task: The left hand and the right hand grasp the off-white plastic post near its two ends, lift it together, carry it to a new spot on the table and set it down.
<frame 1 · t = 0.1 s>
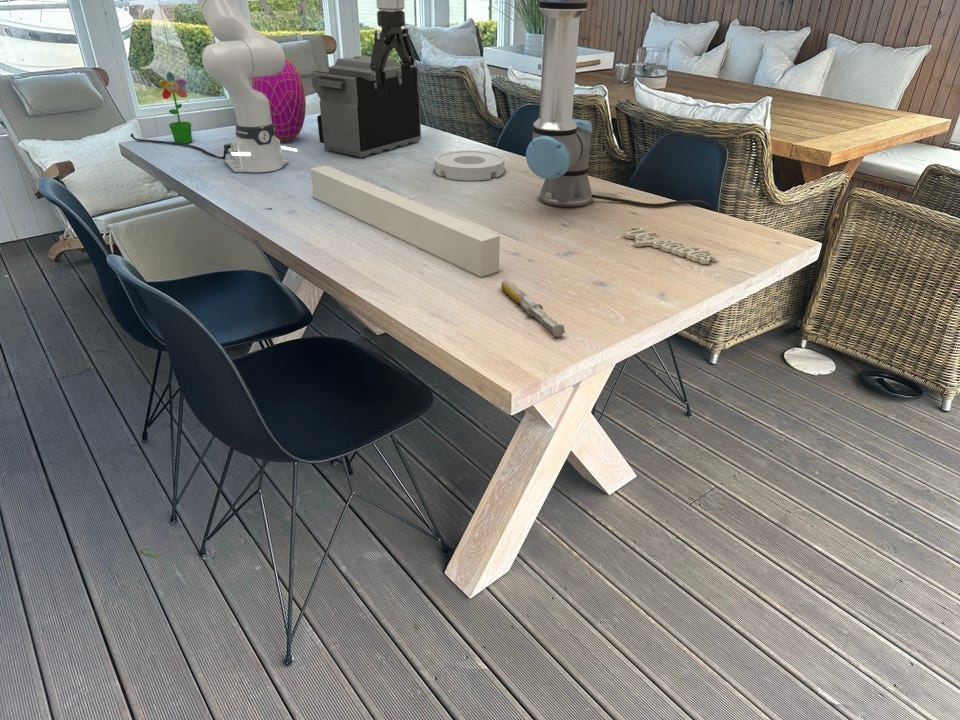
left hand: (285, 14, 187), 48 cm above the table, tool pointing down, fingers open, 8 cm apart
right hand: (394, 93, 197), 28 cm above the table, tool pointing down, fingers open, 13 cm apart
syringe: (530, 311, 139), on the table
potted flower: (184, 142, 260), on the table
decorative egg: (284, 140, 265), on the table
post: (394, 229, 180), on the table
ashtray: (469, 171, 229), on the table
cooler box: (371, 146, 258), on the table
decorative sign: (664, 248, 171), on the table
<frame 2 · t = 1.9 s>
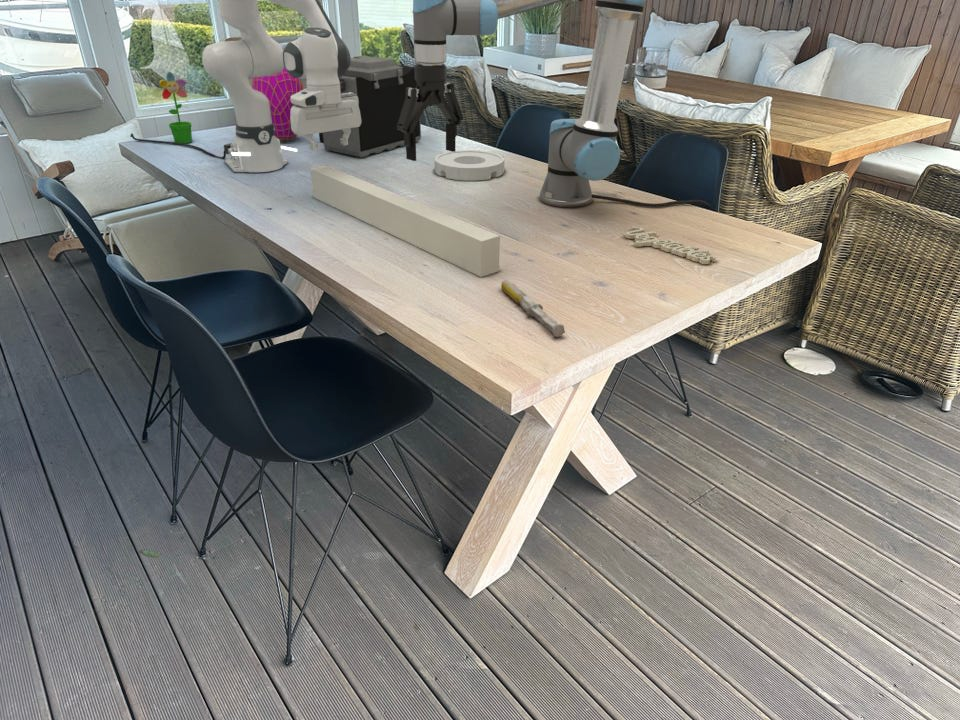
left hand: (329, 147, 192), 16 cm above the table, tool pointing down, fingers open, 8 cm apart
right hand: (431, 155, 172), 19 cm above the table, tool pointing down, fingers open, 13 cm apart
nothing on the table moved.
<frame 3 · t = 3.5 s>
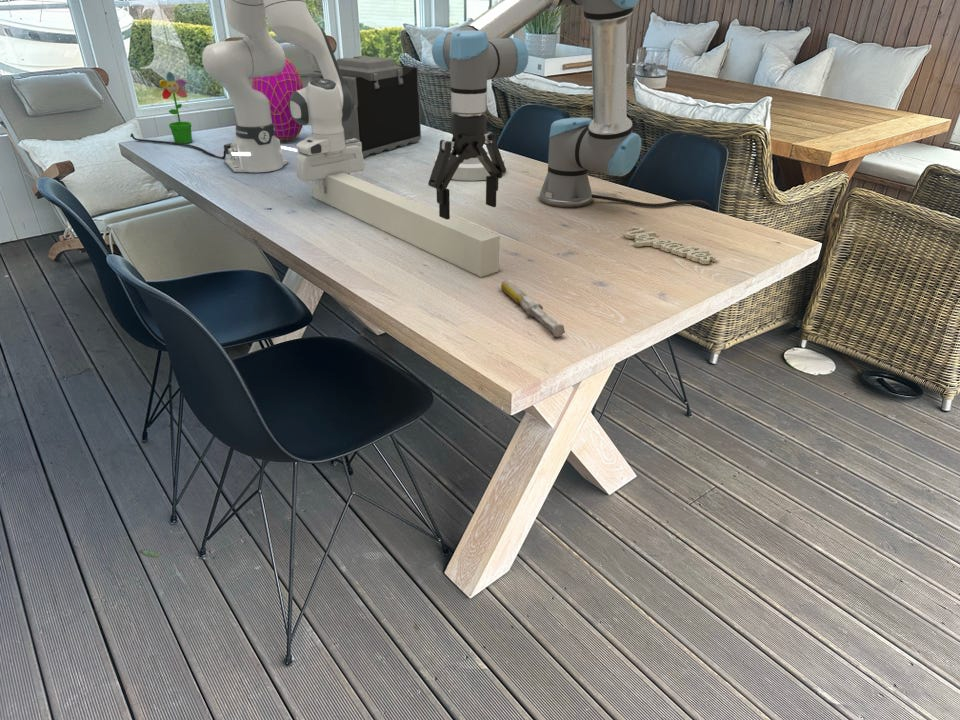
left hand: (333, 191, 198), 3 cm above the table, tool pointing down, fingers closed on post, 5 cm apart
right hand: (468, 211, 154), 13 cm above the table, tool pointing down, fingers open, 13 cm apart
post: (394, 229, 180), on the table, touching left hand
everything else where it was.
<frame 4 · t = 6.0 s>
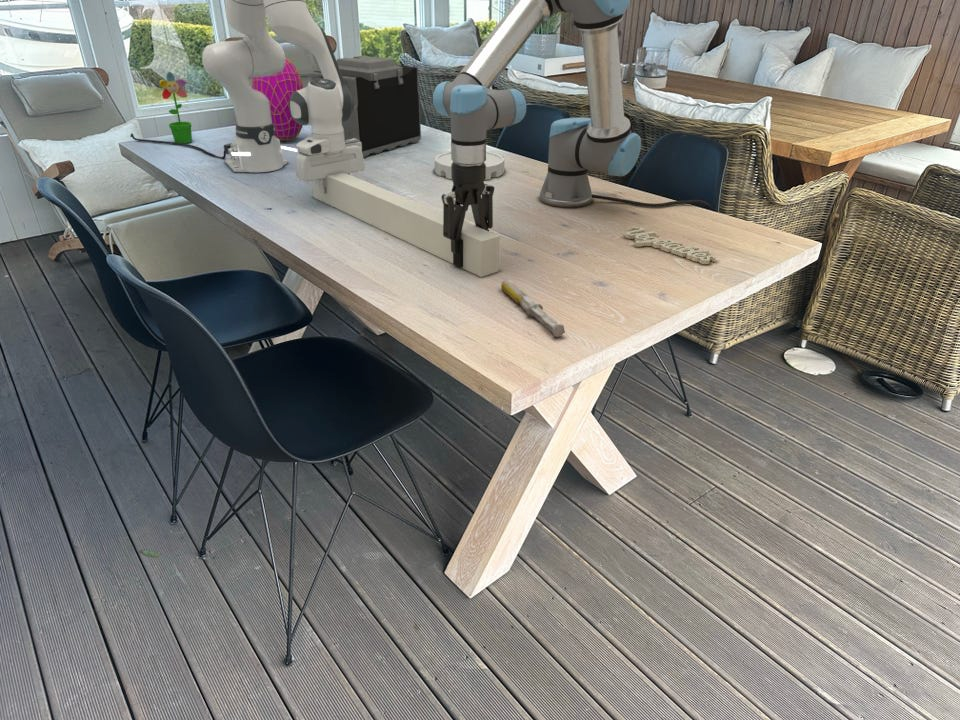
left hand: (333, 191, 198), 3 cm above the table, tool pointing down, fingers closed on post, 5 cm apart
right hand: (468, 262, 160), 1 cm above the table, tool pointing down, fingers closed on post, 5 cm apart
post: (394, 229, 180), on the table, touching right hand, left hand
everything else where it was.
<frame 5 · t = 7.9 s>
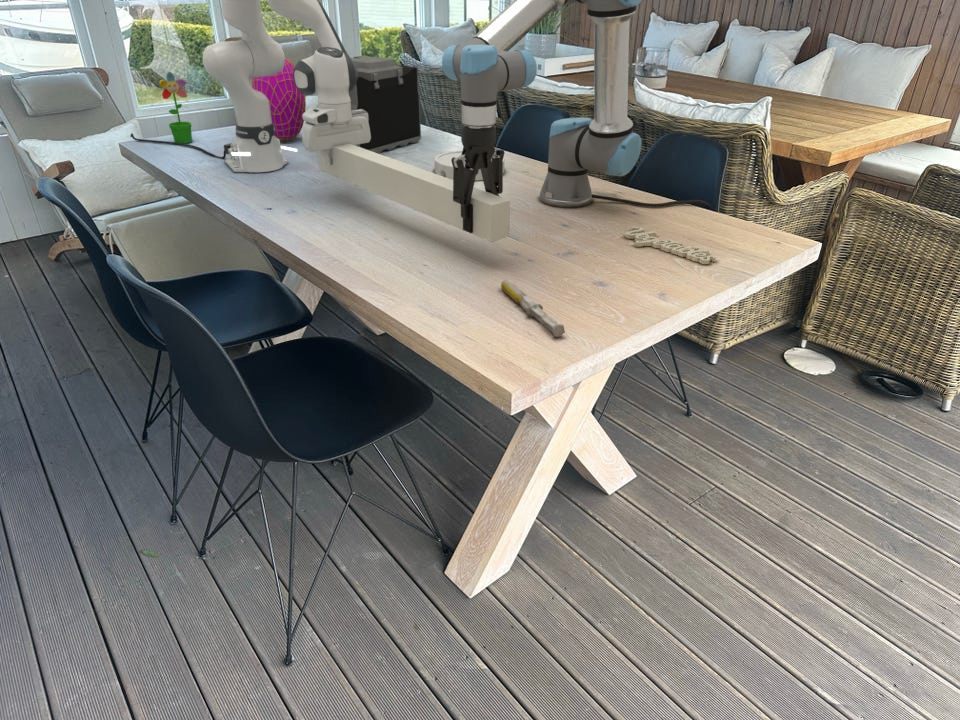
left hand: (339, 162, 196), 11 cm above the table, tool pointing down, fingers closed on post, 5 cm apart
right hand: (478, 227, 159), 8 cm above the table, tool pointing down, fingers closed on post, 5 cm apart
post: (402, 199, 179), point 7 cm above the table, touching right hand, left hand
everything else where it was.
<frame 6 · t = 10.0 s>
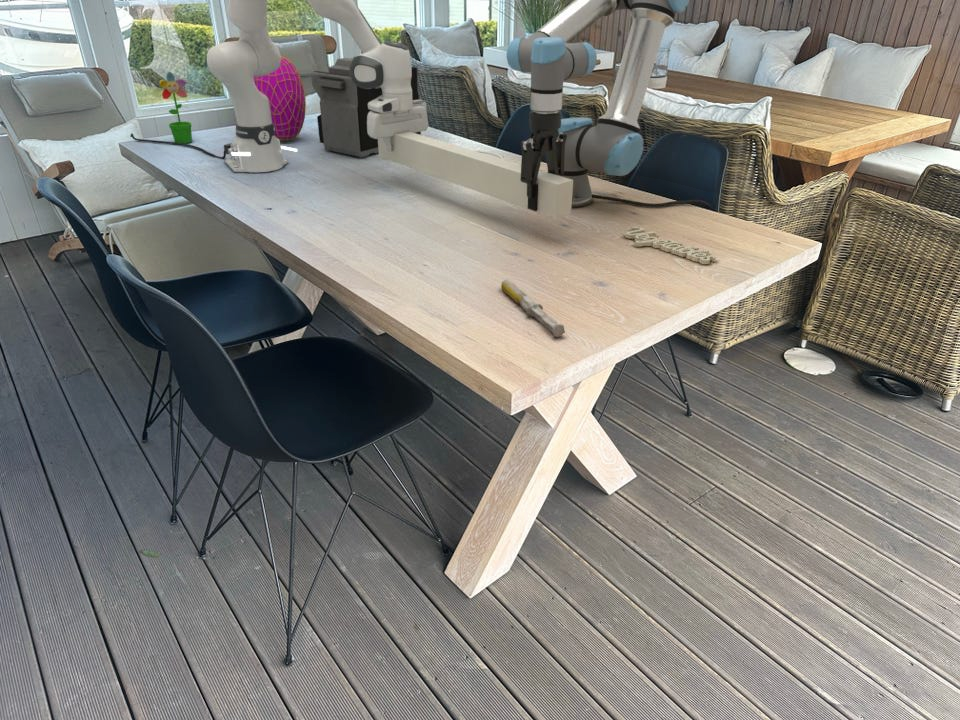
left hand: (399, 149, 210), 11 cm above the table, tool pointing down, fingers closed on post, 5 cm apart
right hand: (541, 206, 173), 8 cm above the table, tool pointing down, fingers closed on post, 5 cm apart
post: (463, 181, 192), point 7 cm above the table, touching right hand, left hand
everything else where it was.
when the right hand's fingers open (2 cm above the table, at t = 11.9 s): post drops 1 cm, held by the left hand.
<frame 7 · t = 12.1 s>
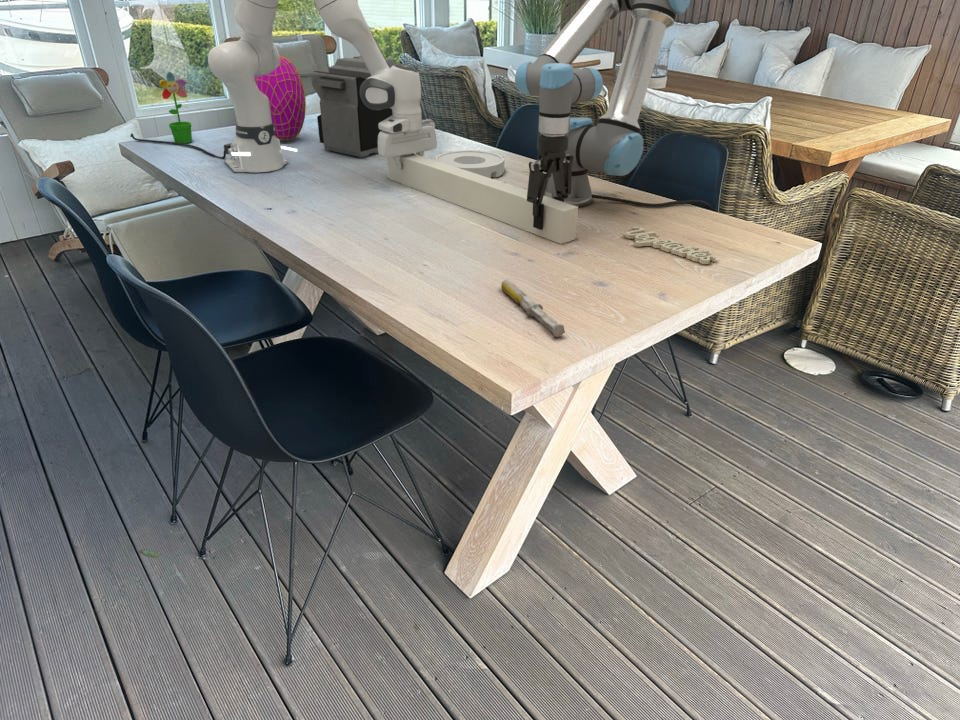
left hand: (408, 167, 215), 5 cm above the table, tool pointing down, fingers closed on post, 5 cm apart
right hand: (547, 225, 177), 2 cm above the table, tool pointing down, fingers open, 6 cm apart
post: (471, 205, 198), on the table, touching left hand
everything else where it was.
when the left hand's fingers open (5 cm above the table, at t = 12.2 s): post stays where it is, on the table.
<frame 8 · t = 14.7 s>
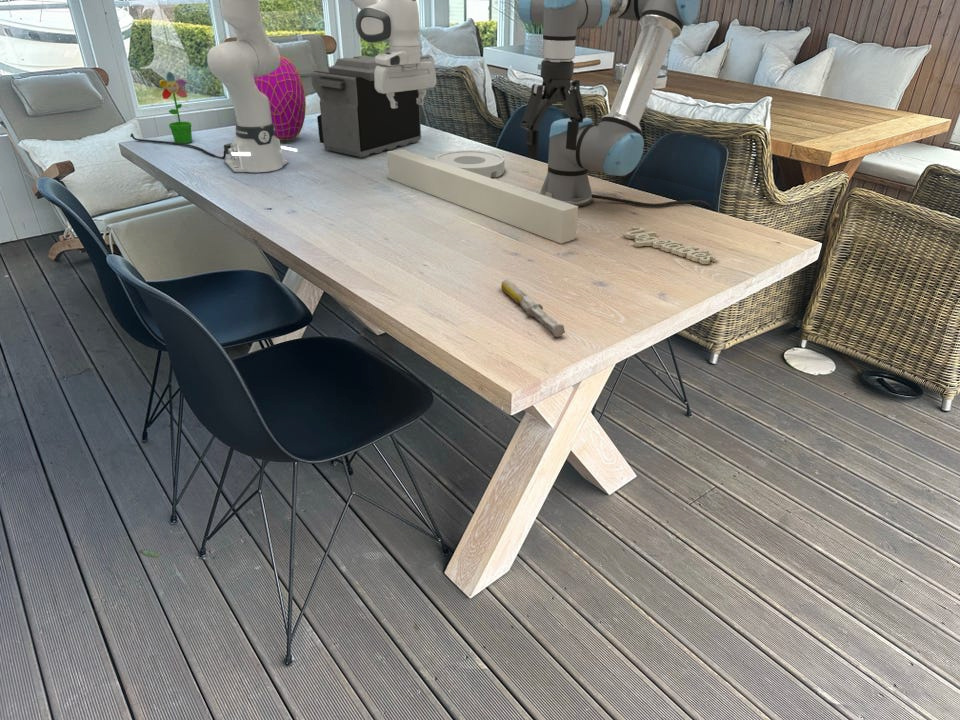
left hand: (407, 106, 206), 23 cm above the table, tool pointing down, fingers open, 8 cm apart
right hand: (551, 153, 168), 21 cm above the table, tool pointing down, fingers open, 13 cm apart
post: (471, 205, 198), on the table
everything else where it was.
at the end: post inside the target area (0.3 cm from its centre), on the table; post tilted 0°; post never tilted more than 1° during the clip; both hands held the post at the same time; the left hand is holding nothing; the right hand is holding nothing; post at rest at the end (0.0 cm/s) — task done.
